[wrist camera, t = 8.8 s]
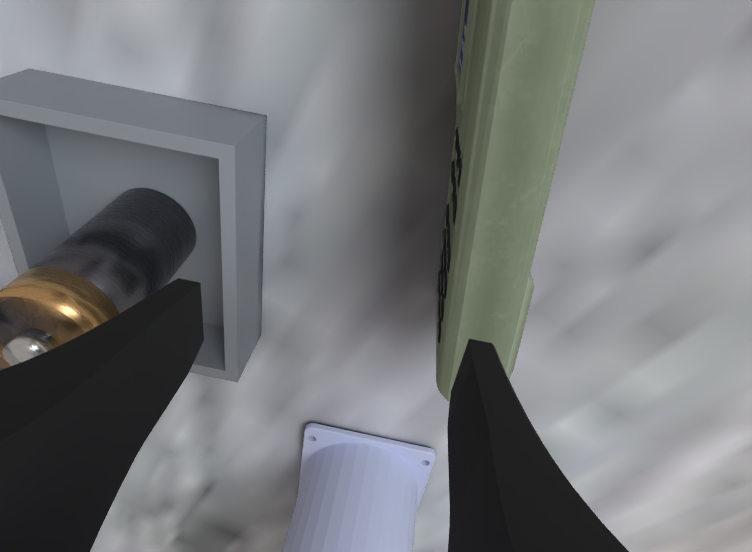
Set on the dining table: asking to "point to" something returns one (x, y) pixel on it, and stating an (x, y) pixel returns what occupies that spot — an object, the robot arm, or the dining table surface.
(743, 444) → the dining table surface
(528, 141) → the handheld radio
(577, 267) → the dining table surface
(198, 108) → the cell bin
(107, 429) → the robot arm
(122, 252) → the battery cell
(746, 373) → the dining table surface
